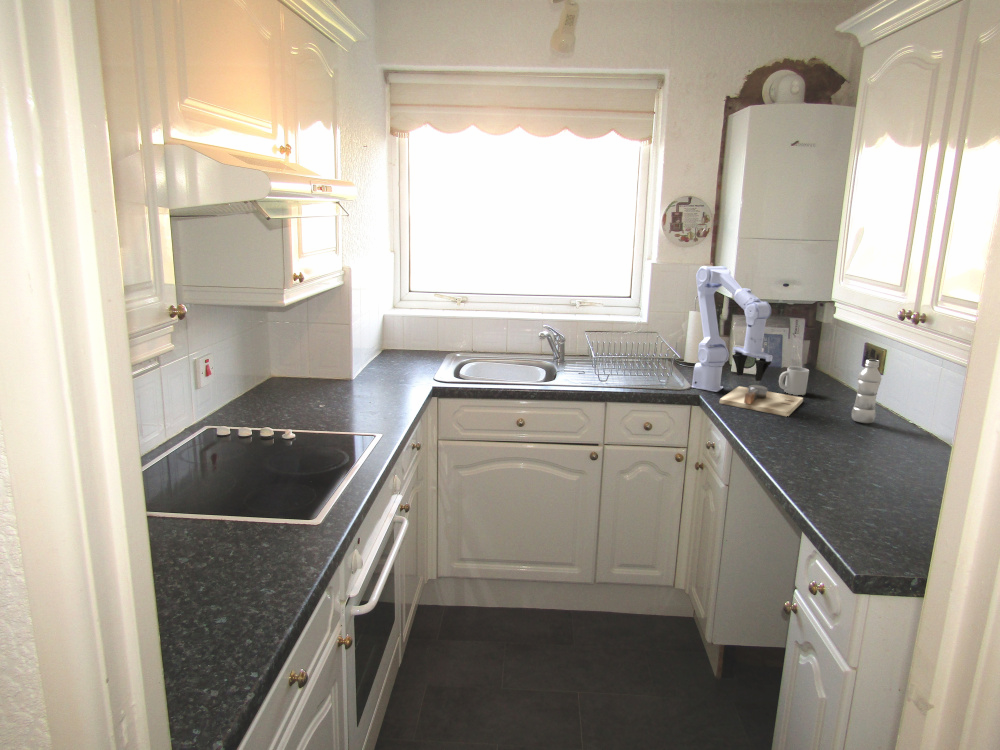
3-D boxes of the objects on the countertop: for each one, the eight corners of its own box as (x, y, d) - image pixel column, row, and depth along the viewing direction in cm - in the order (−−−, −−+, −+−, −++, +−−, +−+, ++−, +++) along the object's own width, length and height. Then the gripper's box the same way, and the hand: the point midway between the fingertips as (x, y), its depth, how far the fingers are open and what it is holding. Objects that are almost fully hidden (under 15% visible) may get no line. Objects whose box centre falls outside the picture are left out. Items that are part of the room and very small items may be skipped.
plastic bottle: (876, 426, 212) (888, 363, 207) (853, 424, 213) (864, 361, 208) (870, 420, 218) (881, 359, 213) (847, 418, 219) (857, 357, 214)
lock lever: (750, 392, 239) (751, 384, 238) (768, 395, 235) (769, 387, 235) (737, 401, 227) (739, 392, 226) (756, 405, 223) (757, 396, 223)
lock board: (719, 403, 230) (719, 398, 230) (738, 390, 248) (738, 386, 248) (787, 416, 218) (788, 412, 218) (802, 401, 236) (803, 397, 236)
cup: (809, 396, 244) (812, 371, 242) (781, 395, 244) (784, 370, 242) (800, 390, 251) (804, 367, 249) (773, 389, 251) (776, 366, 249)
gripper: (728, 334, 231) (723, 373, 234) (764, 343, 219) (759, 384, 222) (742, 333, 235) (737, 371, 238) (778, 341, 223) (773, 382, 226)
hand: (748, 377), depth 230 cm, fingers open, 7 cm apart
